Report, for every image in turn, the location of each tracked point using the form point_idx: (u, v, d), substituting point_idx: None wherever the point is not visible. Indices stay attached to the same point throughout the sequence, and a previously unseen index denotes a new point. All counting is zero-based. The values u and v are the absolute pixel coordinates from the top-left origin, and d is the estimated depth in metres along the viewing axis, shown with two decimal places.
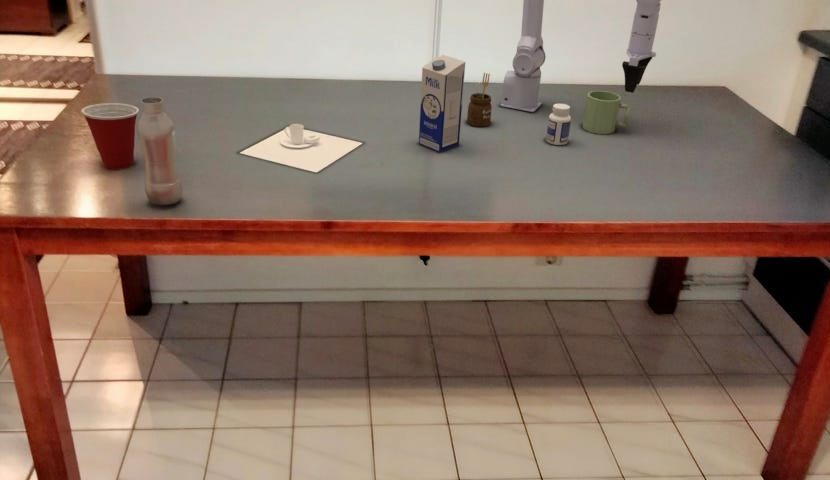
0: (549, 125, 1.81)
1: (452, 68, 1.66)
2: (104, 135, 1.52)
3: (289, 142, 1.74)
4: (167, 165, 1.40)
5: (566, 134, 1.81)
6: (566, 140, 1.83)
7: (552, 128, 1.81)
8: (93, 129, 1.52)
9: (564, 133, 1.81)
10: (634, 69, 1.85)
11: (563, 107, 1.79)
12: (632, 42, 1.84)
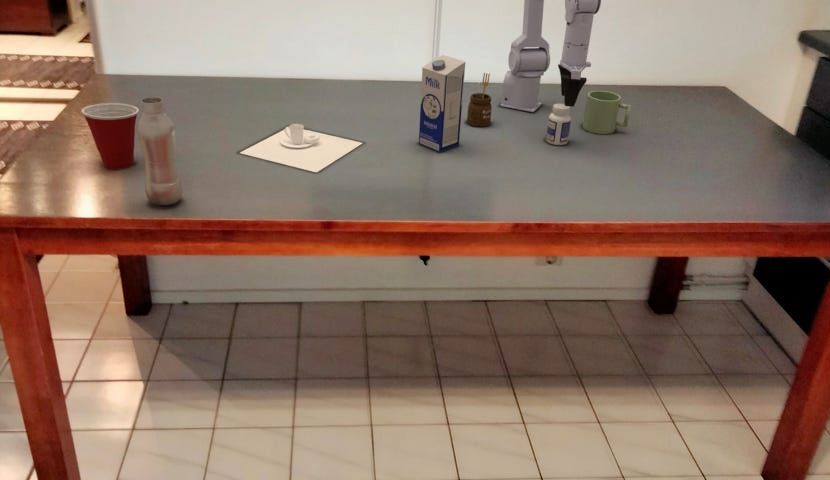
0: (549, 125, 1.81)
1: (452, 68, 1.66)
2: (104, 135, 1.52)
3: (289, 142, 1.74)
4: (167, 165, 1.40)
5: (566, 134, 1.81)
6: (566, 140, 1.83)
7: (552, 128, 1.81)
8: (93, 129, 1.52)
9: (564, 133, 1.81)
10: (574, 82, 1.73)
11: (563, 107, 1.79)
12: (568, 54, 1.72)
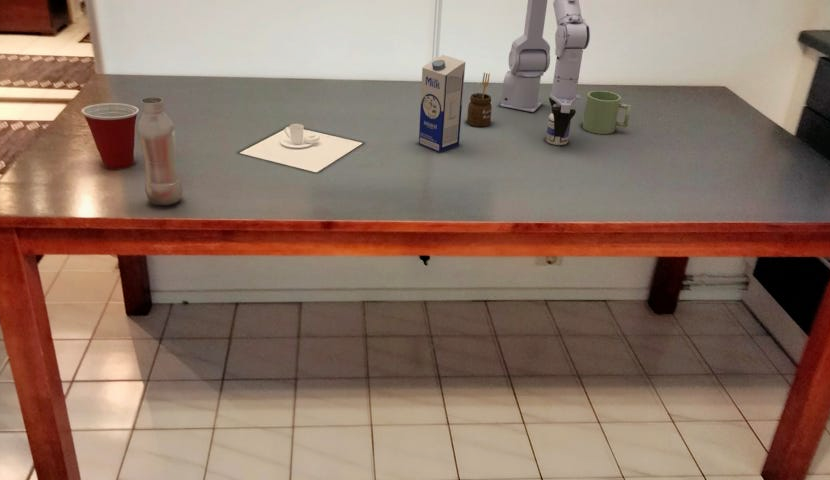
0: (549, 125, 1.81)
1: (452, 68, 1.66)
2: (104, 135, 1.52)
3: (289, 142, 1.74)
4: (167, 165, 1.40)
5: (566, 134, 1.81)
6: (566, 140, 1.83)
7: (552, 128, 1.81)
8: (93, 129, 1.52)
9: None
10: (563, 113, 1.77)
11: None
12: (558, 88, 1.75)
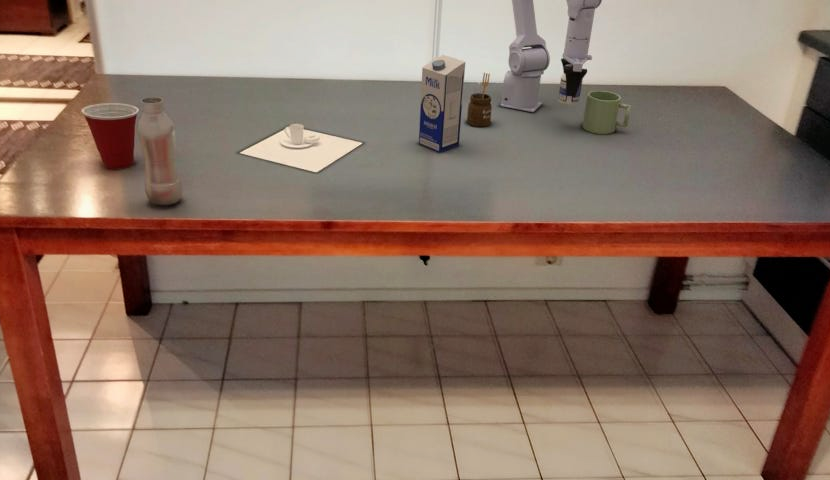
0: (562, 85, 1.87)
1: (452, 68, 1.66)
2: (104, 135, 1.52)
3: (289, 142, 1.74)
4: (167, 165, 1.40)
5: (578, 94, 1.87)
6: (578, 100, 1.88)
7: (564, 88, 1.86)
8: (93, 129, 1.52)
9: (576, 93, 1.86)
10: (575, 73, 1.83)
11: None
12: (570, 47, 1.81)
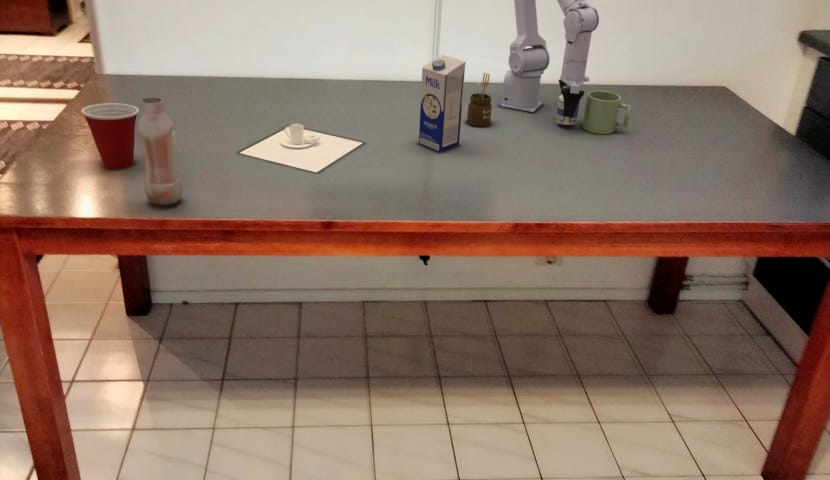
0: (559, 106, 1.91)
1: (452, 68, 1.66)
2: (104, 135, 1.52)
3: (289, 142, 1.74)
4: (167, 165, 1.40)
5: (575, 114, 1.91)
6: (575, 120, 1.92)
7: (562, 109, 1.90)
8: (93, 129, 1.52)
9: None
10: (572, 94, 1.87)
11: None
12: (568, 70, 1.85)
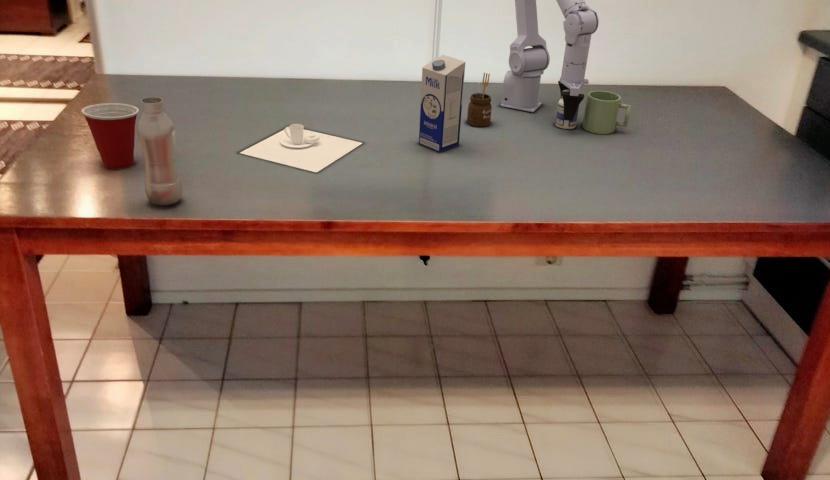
0: (559, 110, 1.91)
1: (452, 68, 1.66)
2: (104, 135, 1.52)
3: (289, 142, 1.74)
4: (167, 165, 1.40)
5: (574, 118, 1.91)
6: (574, 124, 1.92)
7: (561, 113, 1.91)
8: (93, 129, 1.52)
9: None
10: (572, 98, 1.86)
11: None
12: (567, 72, 1.85)
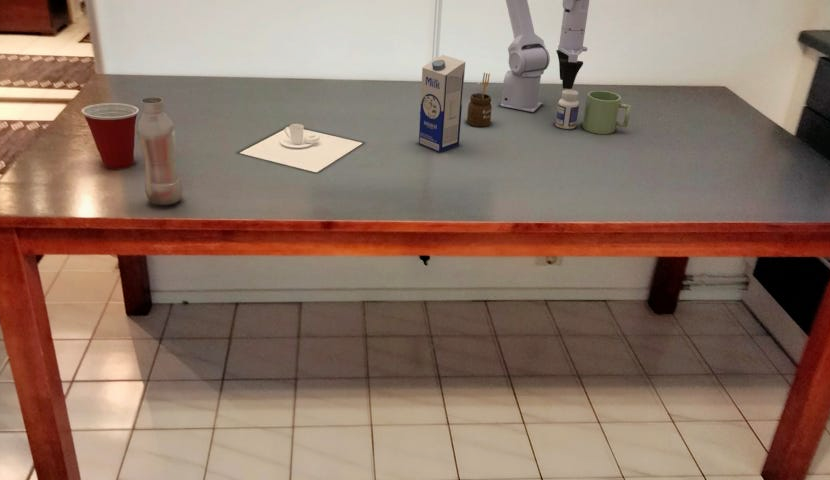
0: (559, 110, 1.91)
1: (452, 68, 1.66)
2: (104, 135, 1.52)
3: (289, 142, 1.74)
4: (167, 165, 1.40)
5: (574, 118, 1.91)
6: (574, 124, 1.92)
7: (561, 113, 1.91)
8: (93, 129, 1.52)
9: (573, 117, 1.91)
10: (571, 65, 1.83)
11: (571, 92, 1.89)
12: (566, 39, 1.82)
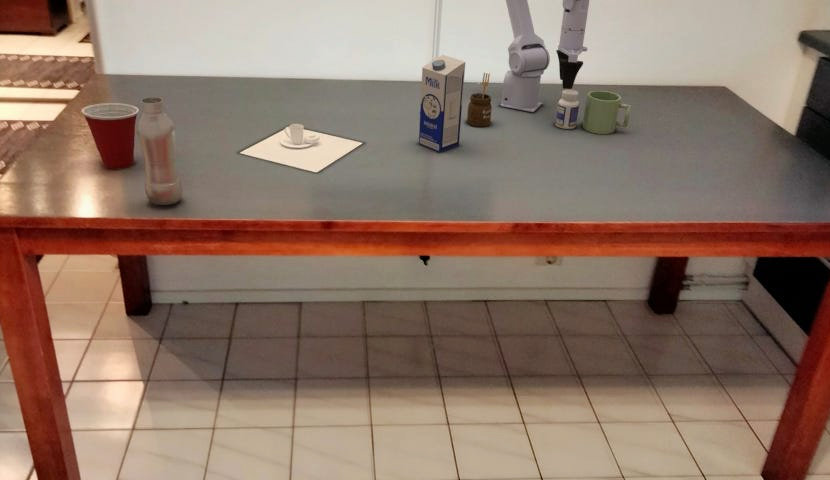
0: (559, 110, 1.91)
1: (452, 68, 1.66)
2: (104, 135, 1.52)
3: (289, 142, 1.74)
4: (167, 165, 1.40)
5: (574, 118, 1.91)
6: (574, 124, 1.92)
7: (561, 113, 1.91)
8: (93, 129, 1.52)
9: (573, 117, 1.91)
10: (571, 65, 1.83)
11: (572, 92, 1.89)
12: (566, 39, 1.82)
